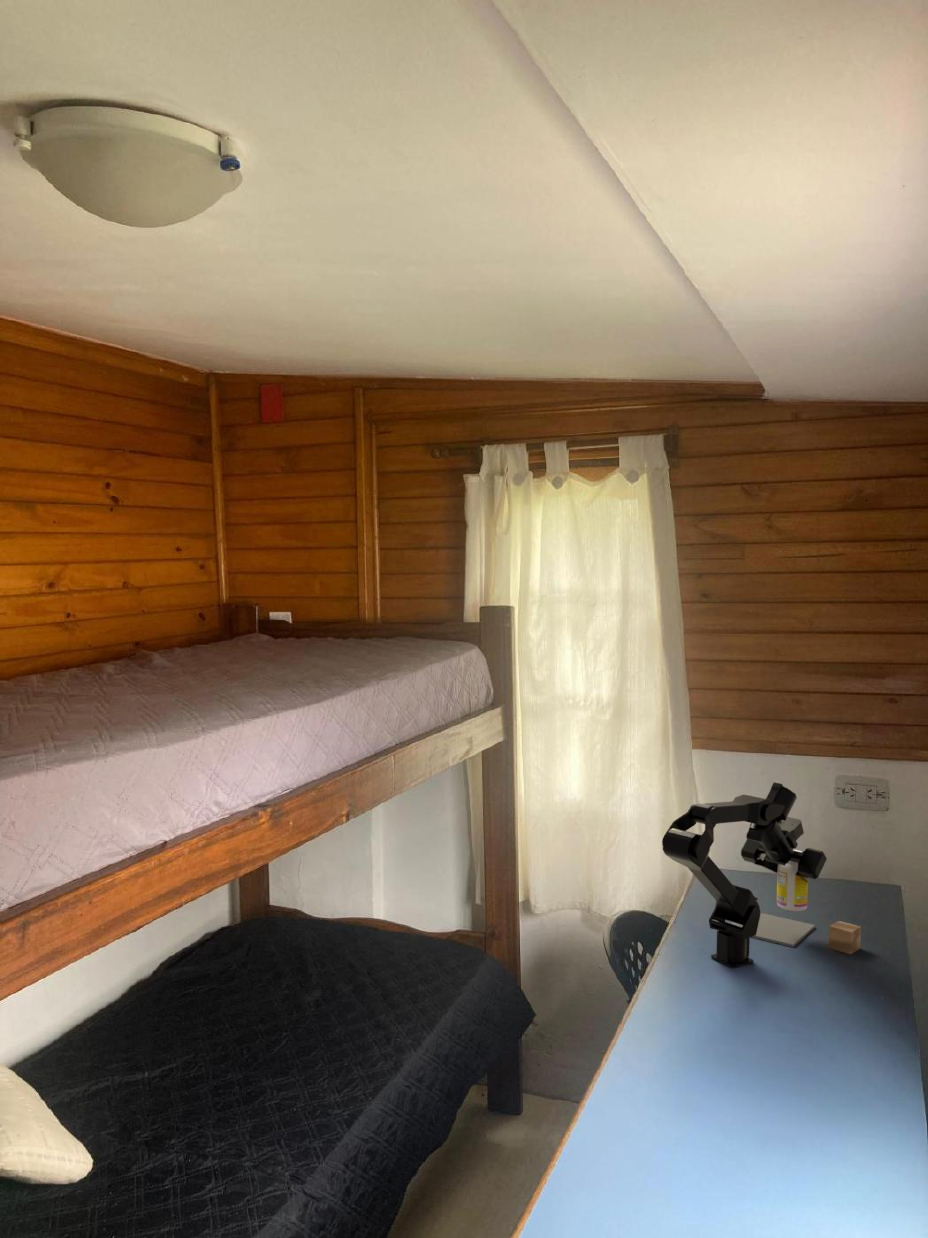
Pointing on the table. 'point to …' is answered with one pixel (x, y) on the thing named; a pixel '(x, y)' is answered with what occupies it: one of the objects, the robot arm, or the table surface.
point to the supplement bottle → (791, 888)
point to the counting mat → (781, 930)
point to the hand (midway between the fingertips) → (795, 877)
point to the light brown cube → (844, 937)
